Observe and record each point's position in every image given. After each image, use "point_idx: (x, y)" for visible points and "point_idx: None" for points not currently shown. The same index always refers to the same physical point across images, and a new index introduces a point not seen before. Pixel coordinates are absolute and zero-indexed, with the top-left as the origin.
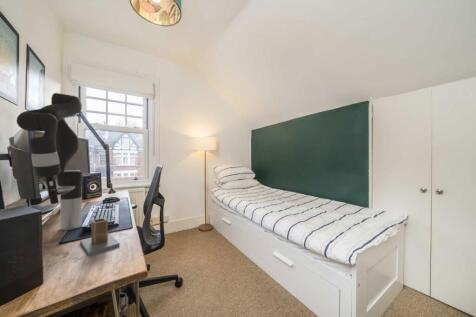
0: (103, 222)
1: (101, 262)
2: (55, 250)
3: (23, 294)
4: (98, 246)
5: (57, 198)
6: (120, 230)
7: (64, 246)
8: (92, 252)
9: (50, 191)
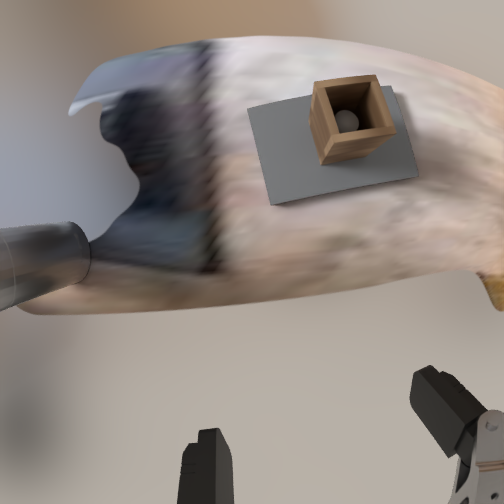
0: (380, 95)
1: (462, 153)
2: (281, 278)
3: (490, 297)
4: (383, 145)
5: (454, 389)
6: (208, 75)
7: (259, 255)
8: (415, 166)
9: (226, 496)
